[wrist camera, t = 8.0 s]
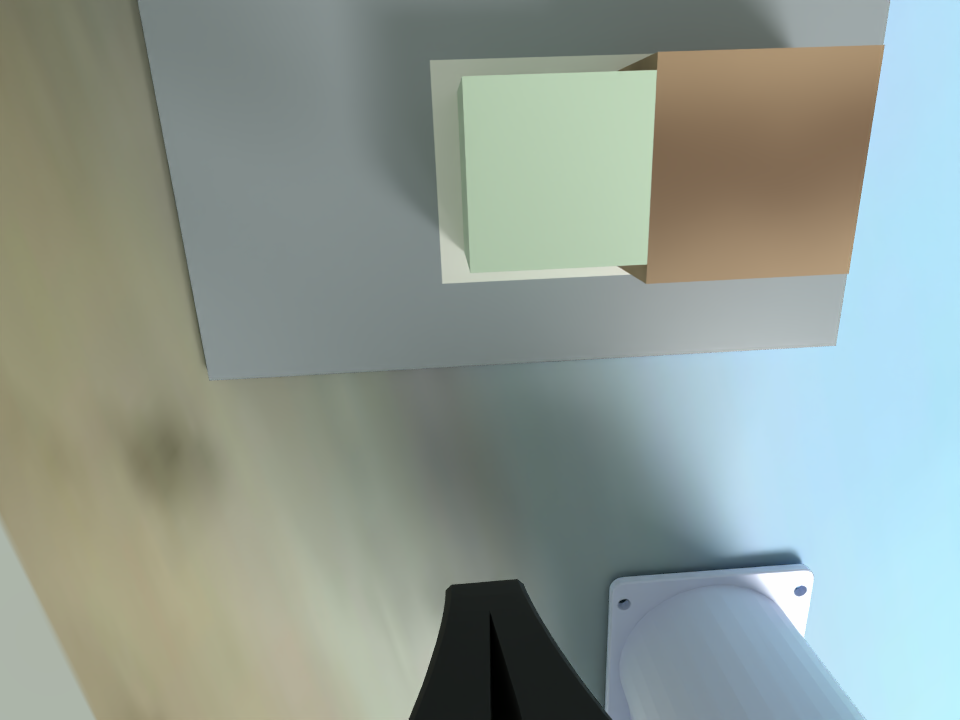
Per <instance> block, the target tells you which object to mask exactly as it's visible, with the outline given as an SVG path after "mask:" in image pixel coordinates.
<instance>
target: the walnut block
mask: <svg viewBox="0 0 960 720" xmlns="http://www.w3.org/2000/svg"><path fill="white" fill-rule="evenodd" d="M883 51H884V45H863V46H831V47H798V48H766V49H733V50H701V51H668V52H657V53H654V54H652V55H650V56H648V57H646V58H644V59H642V60H639V61H637V62H635V63H633V64H631V65H629V66H627V67H624V68H622V69H620V70H618V71H641V70H657V79H656V99H655V119H654V138H653V158H652V178H651V197H650V217H649V237H648V256H647V265H626V266H618V267H619V268H621V269H623V270H624V271H626V272H627V273H629V274H631V275H632V276H634V277H636V278H637V279H639V280H641V281H642V282H644V283H645V284H656V283H675V282H695V281H715V280H735V279H754V278H774V277H794V276H813V275H833V274H849V268H850V261H851V255H852V249H853V242H854V236H855V230H856V223H857V217H858V210H859V204H860V198H861V191H862V185H863V179H864V172H865V166H866V160H867V153H868V147H869V141H870V134H871V128H872V121H873V115H874V109H875V102H876V96H877V90H878V83H879V77H880V71H881V64H882V58H883Z"/></svg>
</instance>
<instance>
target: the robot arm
mask: <svg viewBox="0 0 960 720" xmlns="http://www.w3.org/2000/svg"><path fill="white" fill-rule="evenodd" d="M813 581H814V574H813V573H812V571H811V570H810V569H809V568H808V567H807V566H806V565H804V564H791V565H777V566H764V567H750V568H737V569H724V570H710V571H697V572H684V573H670V574H657V575H643V576H630V577H621V578H617V579H616V580H614V581H613V582H612V583H611V585H610V589H609V614H608V640H607V666H606V692H605V710H604V709H603V707H602V706H601V705H600V703H599V702H598V701H597V700H596V698H595V697H594V696H593V694H592V693H591V692H590V691H589V689H588V688H587V687H586V685H585V684H584V683H583V681H582V680H581V678H580V677H579V676H578V674H577V673H576V672H575V670H574V669H573V667H572V666H571V664H570V663H569V661H568V660H567V658H566V657H565V656H564V654H563V653H562V651H561V650H560V648H559V647H558V645H557V644H556V642H555V641H554V639H553V637H552V636H551V634H550V633H549V631H548V629H547V628H546V626H545V624H544V623H543V621H542V619H541V618H540V616H539V614H538V612H537V611H536V609H535V607H534V605H533V603H532V601H531V599H530V597H529V595H528V593H527V591H526V589H525V587H524V584H523V583H521V582H520V581H519V580H518V579H514V580H503V581H491V582H479V583H467V584H455V585H451V586H450V587H449V588H448V589H447V590H446V596H445V606H444V612H443V617H442V622H441V626H440V630H439V634H438V638H437V642H436V645H435V648H434V651H433V655H432V658H431V661H430V664H429V667H428V670H427V673H426V676H425V679H424V682H423V685H422V687H421V690H420V692H419V695H418V698H417V700H416V703H415V705H414V708H413V710H412V713H411V715H410V718H409V720H866V719H865V718H864V716H863V715H862V714H861V712H860V711H859V710H858V708H857V707H856V706H855V704H854V703H853V702H852V701H851V699H850V698H849V697H848V695H847V694H846V693H845V691H844V690H843V689H842V687H841V686H840V685H839V683H838V682H837V681H836V679H835V678H834V677H833V676H832V674H831V673H830V672H829V670H828V669H827V668H826V666H825V665H824V664H823V662H822V661H821V660H820V658H819V657H818V656H817V655H816V653H815V652H814V651H813V649H812V648H811V647H810V645H809V644H808V643H807V641H806V640H805V639H804V635H805V629H806V623H807V617H808V611H809V605H810V599H811V593H812V587H813ZM798 586H800V587H799V588H798V589H795V588H796V587H798ZM622 599H627V600H626V601H625V602H623V603H618V602H619V601H620V600H622Z"/></svg>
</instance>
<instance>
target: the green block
mask: <svg viewBox="0 0 960 720" xmlns="http://www.w3.org/2000/svg"><path fill="white" fill-rule="evenodd" d="M656 79H657V70H641V71H610V72H579V73H548V74H516V75H485V76H462V78H461V81H460V84H459V87H458V91H457V99H458V121H459V143H460V166H461V188H462V210H463V233H464V253H465V256H466V260H467V263H468V267H469V270H470V273H483V272H504V271H524V270H545V269H565V268H585V267H606V266H626V265H647V256H648V237H649V217H650V197H651V178H652V158H653V138H654V119H655V99H656Z"/></svg>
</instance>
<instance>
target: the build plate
mask: <svg viewBox="0 0 960 720" xmlns="http://www.w3.org/2000/svg"><path fill="white" fill-rule="evenodd" d="M889 5H890V0H138V6H139V11H140V16H141V22H142V27H143V32H144V37H145V43H146V48H147V53H148V59H149V64H150V69H151V74H152V80H153V85H154V90H155V95H156V101H157V106H158V111H159V117H160V122H161V127H162V132H163V138H164V143H165V148H166V154H167V159H168V164H169V169H170V175H171V180H172V185H173V191H174V196H175V201H176V206H177V212H178V217H179V222H180V228H181V233H182V238H183V243H184V249H185V254H186V259H187V265H188V270H189V275H190V280H191V286H192V291H193V296H194V302H195V307H196V312H197V317H198V323H199V328H200V333H201V339H202V344H203V349H204V354H205V360H206V365H207V370H208V376H209V381H210V380H228V379H246V378H264V377H282V376H300V375H318V374H335V373H353V372H371V371H389V370H407V369H425V368H443V367H461V366H479V365H497V364H515V363H533V362H551V361H569V360H586V359H604V358H622V357H640V356H658V355H676V354H694V353H712V352H730V351H748V350H766V349H784V348H802V347H820V346H836V341H837V335H838V328H839V322H840V316H841V309H842V303H843V297H844V290H845V284H846V278H847V274H833V275H813V276H794V277H774V278H754V279H735V280H715V281H695V282H675V283H656V284H645V283H644V282H642V281H641V280H639V279H637V278H636V277H634V276H632V275H631V274H629V273H627V272H626V271H624V270H623V269H621V268H619V267H618V266H606V267H585V268H565V269H545V270H524V271H504V272H483V273H470V270H469V267H468V263H467V260H466V256H465V253H464V233H463V210H462V188H461V166H460V143H459V121H458V99H457V91H458V87H459V84H460V81H461V78H462V76H485V75H516V74H548V73H579V72H610V71H618V70H620V69H622V68H624V67H627V66H629V65H631V64H633V63H635V62H637V61H639V60H642V59H644V58H646V57H648V56H650V55H652V54H654V53H657V52H668V51H701V50H733V49H766V48H798V47H831V46H863V45H883V43H884V37H885V30H886V24H887V18H888V11H889Z"/></svg>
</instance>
